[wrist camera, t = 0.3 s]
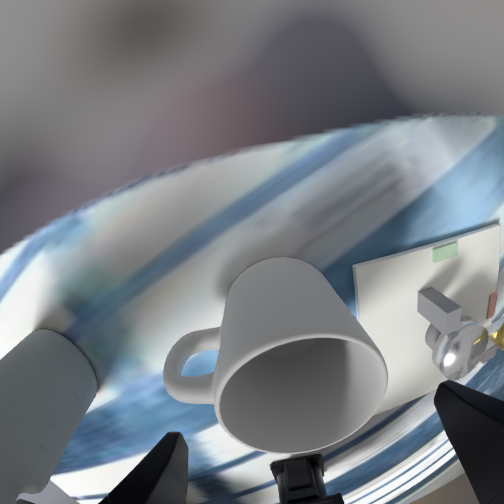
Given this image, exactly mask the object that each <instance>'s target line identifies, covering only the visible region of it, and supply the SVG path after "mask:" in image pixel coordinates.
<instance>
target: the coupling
mask: <svg viewBox="0 0 504 504" xmlns="http://www.w3.org/2000/svg"><path fill="white" fill-rule="evenodd" d="M494 345H497V346H498V347H499V348H501V349H502V350H503V351H504V317H502V318H501V319H499V320H497V321H496V322H494V323H493V324H491V325H489V326H487V327H486V328H485V327H484V326H482V325H481V324H479V323H478V322H477V321H475V320H474V319H473V318H471V317H470V316H461V319H460V326H459V329H457V330H455V331H453V332H451V333H449V334H447V335H444V334H443V333H441V334H440V335H439V337H438V339H437V341H436V343H435V345H434V348H433V351H432V361H433V364H434V365H435V366H436V367H437V368H438V369H439V371H440V372H441V373H442V374H443V375H444V376H445V377H446V378H447V379H448V380H452V381H455V380H458V379H460V378H462V377H464V376H465V375H467V374H468V373H469V372H470V371H471V370H472V369H473V368H474V367H475V366H476V365H477V364H478V362H479V361H480V359H481V358H482V356H483V354H484V352H485V351H486V350H488V349H490V348H491V347H493V346H494Z"/></svg>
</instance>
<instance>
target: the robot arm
mask: <svg viewBox="0 0 504 504" xmlns="http://www.w3.org/2000/svg"><path fill="white" fill-rule="evenodd" d="M434 405H435V407H436V410H437V412H438V415H439V417H440V419H441V422H442V425H443V427H444V430H445V432H446V434H447V436H448V438H449V440H450V442H451V444H452V446H453V448H454V450H455V452H456V454H457V456H458V458H459V460H460V462H461V464H462V466H463V468H464V470H465V472H466V474H467V477H468V479H469V481H470V483H471V485H472V487H473V490H474V492H475V494H476V496H477V499H478V501H479V503H480V504H504V401H502V400H500V399H497V398H494V397H492V396H489V395H487V394H484V393H482V392H479V391H476V390H474V389H471V388H469V387H466V386H464V385H462V384H459V383H457V382H454V381H452V380H446V381H443V382H441V383H440V384H439V385H438V388H437V391H436V394H435V397H434ZM270 469H271V471H272V473H273V476H274V478H275V480H276V483H277V485H278V491H279V500H280V504H344V501H343V498H342V496H341V493H336V494H334V495H330V496H327V493H326V489H325V485H324V481H323V476H324V469H323V460H322V455H321V454H317V455H313V456H308V457H304V458H299V459H294V460H289V461H284V462H278V463H272V464H270ZM187 487H188V446H187V444H186V442H185V440H184V438H183V435H182V434H181V433H180V432H168V433H167V434H166V435H165V436H164V437H163V438H162V439H161V440H160V441H159V442H158V443H157V445H156V446H155V447H154V448H153V449H152V450H151V451H150V452H149V453H148V454H147V455H146V456H145V457H144V458H143V459H142V461H141V462H140V463H139V464H138V465H137V466H136V467H135V468H134V469H133V470H132V471H131V472H130V473H129V474H128V475H127V476H126V477H125V478H124V479H123V480H122V481H121V482H120V483H119V484H118V485H117V486H116V487H115V488H114V489H113V490H112V491H111V492H110V493H109V494H108V496H106V497H105V498H104V499H103V500H102V501H101V502H99V503H98V504H185V502H186V495H187Z"/></svg>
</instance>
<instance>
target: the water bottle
mask: <svg viewBox="0 0 504 504" xmlns="http://www.w3.org/2000/svg"><path fill="white" fill-rule="evenodd" d="M96 392H97V380H96V376H95V373H94V371H93V368H92V366H91V365H90V363H89V361H88V360H87V358H86V357H85V356H84V355H83V353H82V352H81V351H80V350H79V349H78V348H77V347H76V346H75V345H74V344H73V343H72V342H71V341H70V340H68V339H67V338H65V337H64V336H62V335H60V334H58V333H57V332H54V331H51V330H45V329H39V330H35V331H33V332H32V333H30V334H29V335H28V336H27V337H26V338H24V339H23V340H22V341H21V342H20V343H19V344H18V345H16V346H15V347H14V348H13V349H12V350H11V351H10V352H9V353H8V354H7V355H5V356H4V357H3V358H2V359H1V360H0V504H14V503H15V504H34V503H32V502H28V501H25V500H22V499H18V500H17V501H16V499H17V497H18V495H19V494H21V493H30V494H36V493H40V492H41V491H43V490H44V488H45V487H46V485H47V484H48V481H49V480H50V478H51V476H52V474H53V472H54V470H55V468H56V466H57V464H58V462H59V460H60V458H61V456H62V454H63V453H64V451H65V449H66V447H67V445H68V443H69V441H70V440H71V438H72V436H73V434H74V432H75V431H76V429H77V427H78V425H79V424H80V422H81V420H82V418H83V417H84V415H85V413H86V411H87V410H88V408H89V406H90V405H91V403H92V401H93V399H94V398H95V396H96ZM15 501H16V502H15Z"/></svg>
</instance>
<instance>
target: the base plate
mask: <svg viewBox="0 0 504 504" xmlns="http://www.w3.org/2000/svg"><path fill="white" fill-rule="evenodd" d="M499 260H500V225H499V224H493V225H489V226H486V227H483V228H480V229H477V230H474V231H471V232H467V233H464V234H461V235H458V236H454V237H451V238H448V239H444V240H441V241H438V242H434V243H431V244H427V245H424V246H420V247H417V248H413V249H410V250H406V251H403V252H399V253H395V254H392V255H388V256H384V257H381V258H377V259H373V260H370V261H366V262H362V263H358V264H354V265H352V270H353V279H354V289H355V300H356V313H357V320H358V322H359V323H360V324H361V326H362V327H363V328H364V330H365V331H366V332H367V334H368V335H369V336H370V338H371V339H372V340H373V342H374V343H375V344H376V346H377V347H378V349H379V350H380V352H381V354H382V356H383V358H384V360H385V362H386V366H387V370H388V385H387V389H386V393H385V396H384V398H383V400H382V402H381V404H380V406H379V408H378V409H377V411H376V412H375V413H374V415H377V414H379V413H382V412H385V411H387V410H390V409H392V408H395V407H397V406H400V405H402V404H405V403H407V402H409V401H412V400H414V399H416V398H418V397H421V396H423V395H425V394H427V393H429V392H431V391H433V390H435V389H437V388H438V385H439V384H440V383H441V382H443V381H446V380H448V379H447V378H446V377H445V376H444V375H443V374H442V373H441V372H440V371H439V369H438V368H437V367H436V366H435V365H434V364H433V361H432V351H433V348H434V345H435V343H436V341H437V339H438V337H439V335H440V334H441V333H443V334H444V335H447V334H449V333H451V332H453V331H455V330H457V329H459V326H460V319H461V316H470V317H471V318H473V319H474V320H475V321H477V322H478V323H479V324H481V325H482V326H484V327H485V328H486V327H487V326H489V325H491V323H492V318H493V316H494V311H495V305H496V298H497V283H498V273H499ZM497 347H498V346H497V345H494V346H493V347H491V348H490V349H488V350H486V351H485V352H484V354H483V356H482V358H481V359H480V361H479V362H478V364H477V365H476V366H475V367H477V366H479V365H480V364H482V363H483V364H484V363H485V362H487V361H488V360H490V359H491V358H493V357H494V356H495V354H496V351H497ZM475 367H474V368H475ZM474 368H473V369H474ZM374 415H373V416H374Z"/></svg>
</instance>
